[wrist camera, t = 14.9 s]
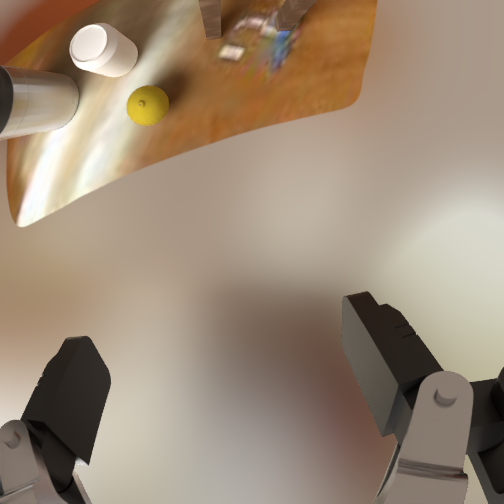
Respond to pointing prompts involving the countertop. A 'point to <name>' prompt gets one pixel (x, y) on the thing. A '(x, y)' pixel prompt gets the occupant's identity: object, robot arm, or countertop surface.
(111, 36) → the beverage can
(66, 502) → the robot arm
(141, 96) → the lemon
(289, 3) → the stand
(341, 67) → the countertop surface
